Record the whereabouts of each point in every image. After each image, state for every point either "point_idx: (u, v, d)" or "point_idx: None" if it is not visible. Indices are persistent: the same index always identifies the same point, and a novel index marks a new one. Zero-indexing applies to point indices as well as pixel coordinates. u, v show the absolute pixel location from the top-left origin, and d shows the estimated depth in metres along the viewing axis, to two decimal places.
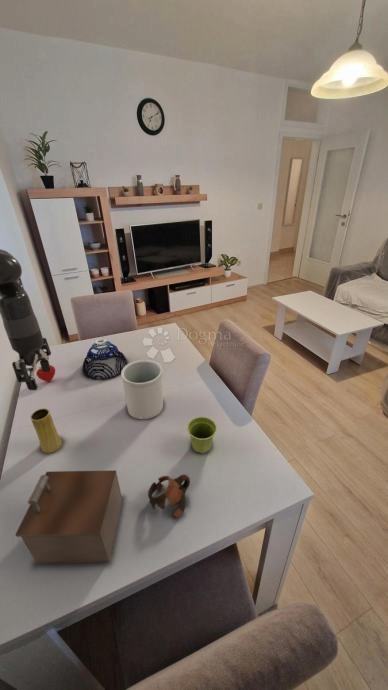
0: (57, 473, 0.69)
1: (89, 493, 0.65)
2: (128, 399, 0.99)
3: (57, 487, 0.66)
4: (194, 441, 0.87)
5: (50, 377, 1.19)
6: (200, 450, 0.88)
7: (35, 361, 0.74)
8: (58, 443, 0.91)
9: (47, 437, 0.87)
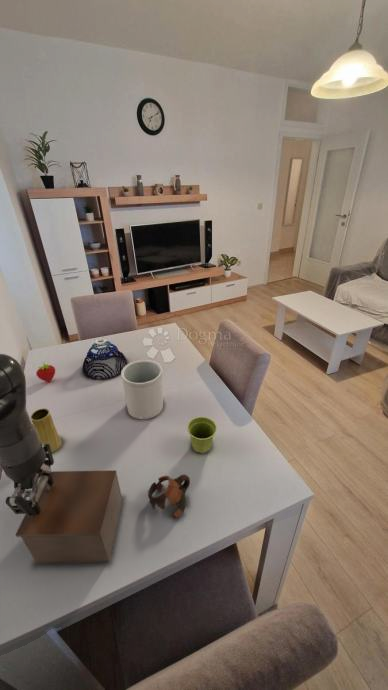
0: (57, 473, 0.69)
1: (89, 493, 0.65)
2: (128, 399, 0.99)
3: (57, 487, 0.66)
4: (194, 441, 0.87)
5: (50, 377, 1.19)
6: (200, 450, 0.88)
7: (35, 484, 0.57)
8: (58, 443, 0.91)
9: (47, 437, 0.87)
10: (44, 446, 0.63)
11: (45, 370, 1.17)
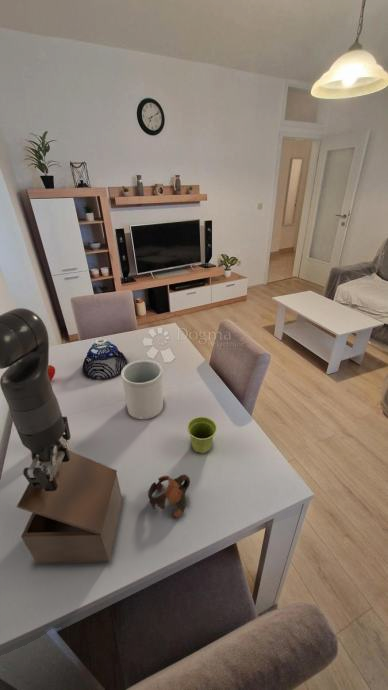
0: None
1: (92, 485, 0.63)
2: (128, 399, 0.99)
3: (61, 466, 0.62)
4: (194, 441, 0.87)
5: (50, 377, 1.19)
6: (200, 450, 0.88)
7: (53, 456, 0.53)
8: None
9: None
10: None
11: None
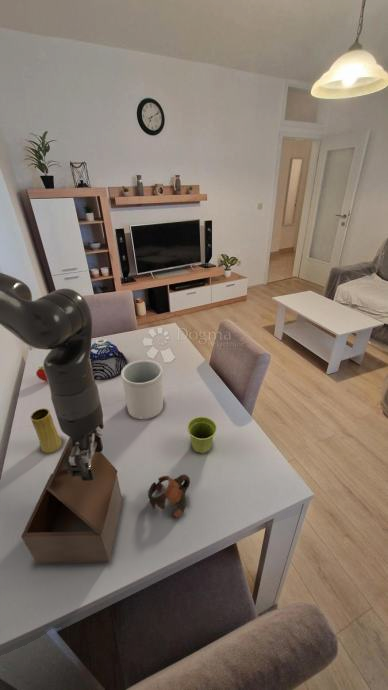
0: None
1: (100, 482, 0.63)
2: (128, 399, 0.99)
3: None
4: (194, 441, 0.87)
5: None
6: (200, 450, 0.88)
7: (91, 444, 0.51)
8: (58, 443, 0.91)
9: (47, 437, 0.87)
10: None
11: None
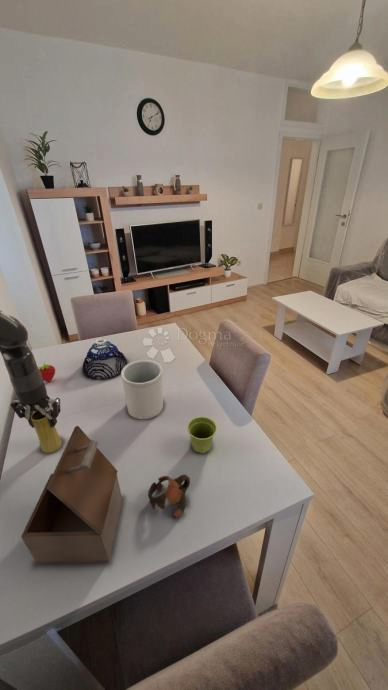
0: (84, 436, 0.63)
1: (100, 482, 0.63)
2: (128, 399, 0.99)
3: (83, 454, 0.60)
4: (194, 441, 0.87)
5: (50, 377, 1.19)
6: (200, 450, 0.88)
7: (26, 409, 0.81)
8: (58, 443, 0.91)
9: (47, 437, 0.87)
10: (54, 401, 0.82)
11: (45, 370, 1.17)
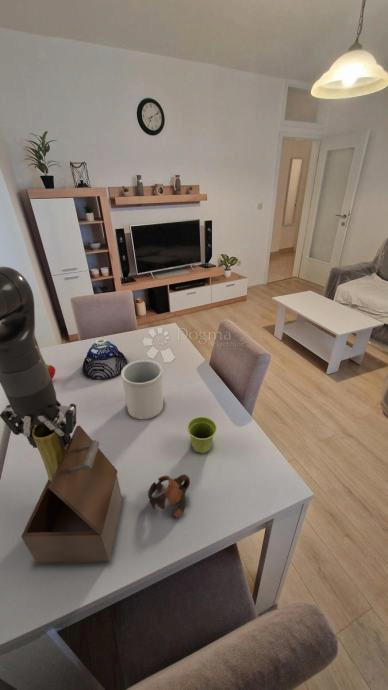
0: (85, 435, 0.63)
1: (101, 481, 0.63)
2: (128, 399, 0.99)
3: (84, 454, 0.60)
4: (194, 441, 0.87)
5: None
6: (200, 450, 0.88)
7: (25, 421, 0.53)
8: None
9: (57, 462, 0.58)
10: (67, 410, 0.53)
11: None
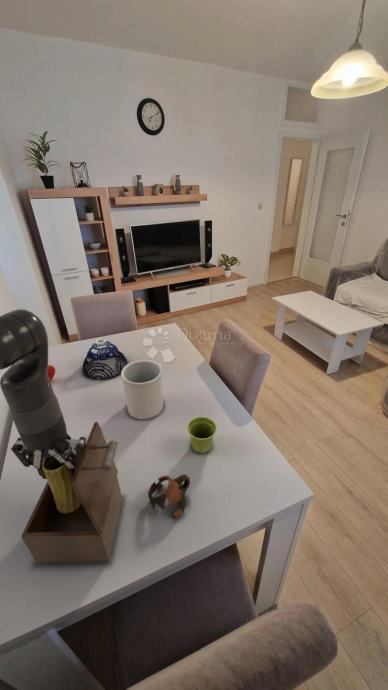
0: (101, 433, 0.62)
1: (106, 481, 0.63)
2: (128, 399, 0.99)
3: (98, 451, 0.60)
4: (194, 441, 0.87)
5: (50, 377, 1.19)
6: (200, 450, 0.88)
7: (36, 455, 0.53)
8: None
9: (66, 493, 0.58)
10: (77, 444, 0.54)
11: None
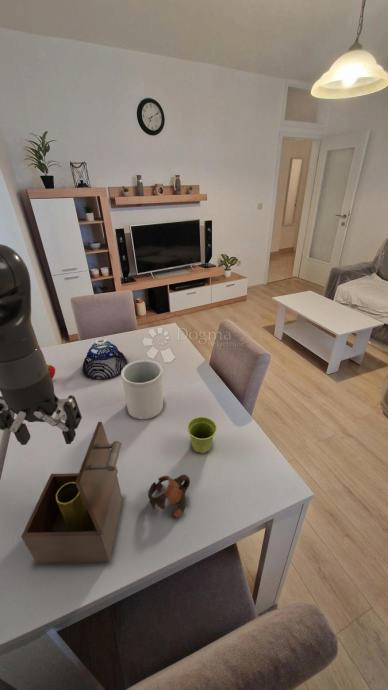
0: (104, 433, 0.62)
1: (107, 481, 0.63)
2: (128, 399, 0.99)
3: (101, 451, 0.60)
4: (194, 441, 0.87)
5: None
6: (200, 450, 0.88)
7: (20, 418, 0.48)
8: (90, 524, 0.69)
9: (77, 521, 0.64)
10: (65, 402, 0.48)
11: None
